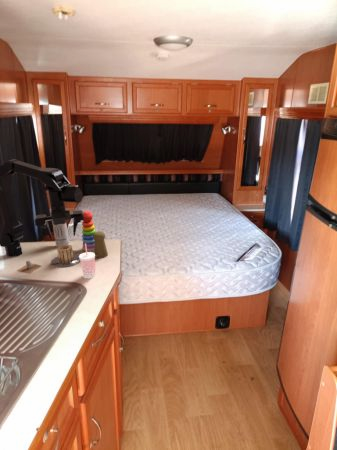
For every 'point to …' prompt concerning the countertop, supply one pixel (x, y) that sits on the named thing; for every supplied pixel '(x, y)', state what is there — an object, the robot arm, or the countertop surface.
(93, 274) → the beverage cup
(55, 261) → the disc
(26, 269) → the stand
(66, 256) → the tan hollow faceted cylinder
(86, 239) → the stacking toy
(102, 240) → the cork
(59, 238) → the energy drink can
